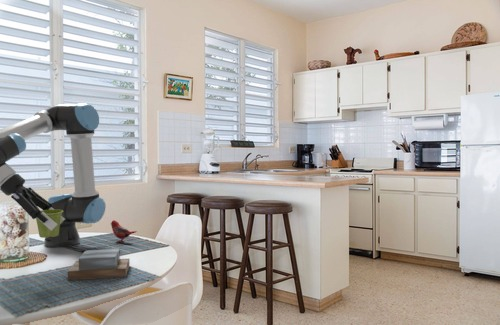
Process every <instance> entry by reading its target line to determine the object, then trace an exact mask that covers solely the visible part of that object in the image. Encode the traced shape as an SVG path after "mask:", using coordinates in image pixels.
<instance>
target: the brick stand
mask: <svg viewBox="0 0 500 325" xmlns="http://www.w3.org/2000/svg"><path fill="white" fill-rule="evenodd" d="M120 254H121V253H120V248H109V249H86V250H84V252H83V253H82V254H81V255H80V256H79V257H78V260H76V261H75V262H74V263H73V264H72V266H71V267H70V268H69V269H68V270H67V281H73V280H76V281H77V280H94V279H95V280H96V279H111V278H114V279H115V278H126V277H127V275H128V271H129V269H130V258H121V256H120Z"/></svg>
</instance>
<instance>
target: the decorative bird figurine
mask: <svg viewBox="0 0 500 325" xmlns="http://www.w3.org/2000/svg"><path fill="white" fill-rule="evenodd" d="M110 225H111V229H112V232H113V234H114V236H115V237H116V238H118V240H116V241H117V242H119V243H120V242H121V243H125V241H124V239H126V238H128V237H130V235H132V234H135V233H137V232H138V231H137V230H135V231H134V230H133V231H130V230H128V229H127V228H125V227H124V226H122V225H121V224H119V222H118V221H117V220H112V221H111V222H110Z"/></svg>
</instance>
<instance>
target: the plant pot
mask: <svg viewBox="0 0 500 325" xmlns="http://www.w3.org/2000/svg"><path fill="white" fill-rule="evenodd" d="M40 211H41V213H42V212H44V213H45V214H46V215H47V216H49V217H50V218H51V219H52V220H53V221H54V222H55V223H57V224H58V225H57V226H56V227H55V228H54V229H53V230H52V231H51V230H50V229H49V228H47V227H46V226H45V225H44V224H43V223H42V222H41V221H39V220H38V219H37V217H36V218H35V221H36V225H37V230H38V236H39V237H40V238H42V239H43V238H44V239H45V238H48V237H55V236H58V235H59V228H60V220H61V216H62V212H63V210H42V209H41V210H40Z"/></svg>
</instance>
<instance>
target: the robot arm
mask: <svg viewBox="0 0 500 325" xmlns="http://www.w3.org/2000/svg"><path fill="white" fill-rule="evenodd" d="M99 124H100V115H99V113H98V111H97V109H96V108H95V106H94V105H91V104H88V103H81V102H80V103H66V104H65V103H62V104H56V105H53V106H50V107H48V108H45V109H42V110H39V111H37V112H35V113H34V115H33V116H32V117H31V116H30V117H29V118H27V119H24V120H21V121H18V122H16V123H13V124H11V125H8V126H6V127H3V128H0V192H2V193H4V194H5V196H9V197H11V199H12V200H14V201H15V202H16V203H17V204H18V205H19V206H20V207H21V208H22V209H23V210H24V211H25V212H26V213H27V215H29V216H30V218H31V219H32V220H36V217H37V219H38V220H39V221H41V222H42V223H43V224H44V225H45V226H46V227H47V228H49V229H50V230H51V231H52V230H53V229H54V228H55V227H56V226H57V225H58V224H57V223H55V222H54V221H53V220H52V219H51V218H50V217H49V216H47V215H46V214H45V213H44V212H42V213H41V211H42V210H63V212H62V216H61V220H60V228H59V235H58V236H55V237H48V238H44V242H43V243H44V247H49V248H62V247H63V248H65V247H70V246H75V245H78V244H80V243H81V237H80V233H79V231H78V229H77V225H76V223H78V224H79V223H82V224H96V223H99V222H100V221H101V220H102V218H103V217H104V214H105V213H106V207H107V206H106V201H105V200H104V198H102V197H100V192H99V191H98V190H96V184H95V182H96V181H95V171H94V170H95V169H94V156H93V143H92V137H93V136H94V134H95V130H96V129H97V128H98V127H99ZM54 131H65V132H66V136H67V137H68V138H70V147H71V148H70V149H71V161H72V170H73V171H72V173H73V174H72V175H73V185H74V192H73V193H66V194H59V195H58V194H57V195H51V196H49V198H48V200H47V199H45V198H44V197H42V196H41V195H40V194H39V193H37V192H36V191H35V190H34V189H33V188H31V187H26V186H24V184H25V183H26V180H25V178H24V177H22V176H21V175H20V174H19V173H17V172H16V171H15V169H14V168H12V167H11V166H10V165H9V164H7V163H6V162H8V161H10V160H12V159H13V158H15V157H17V156H20V155H21V153H23V152H24V151H26V149H27V142H26V140H29V139H31V138H33V137H35V136H37V135H39V134H42V133H44V134H47V133H50V132H54Z"/></svg>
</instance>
